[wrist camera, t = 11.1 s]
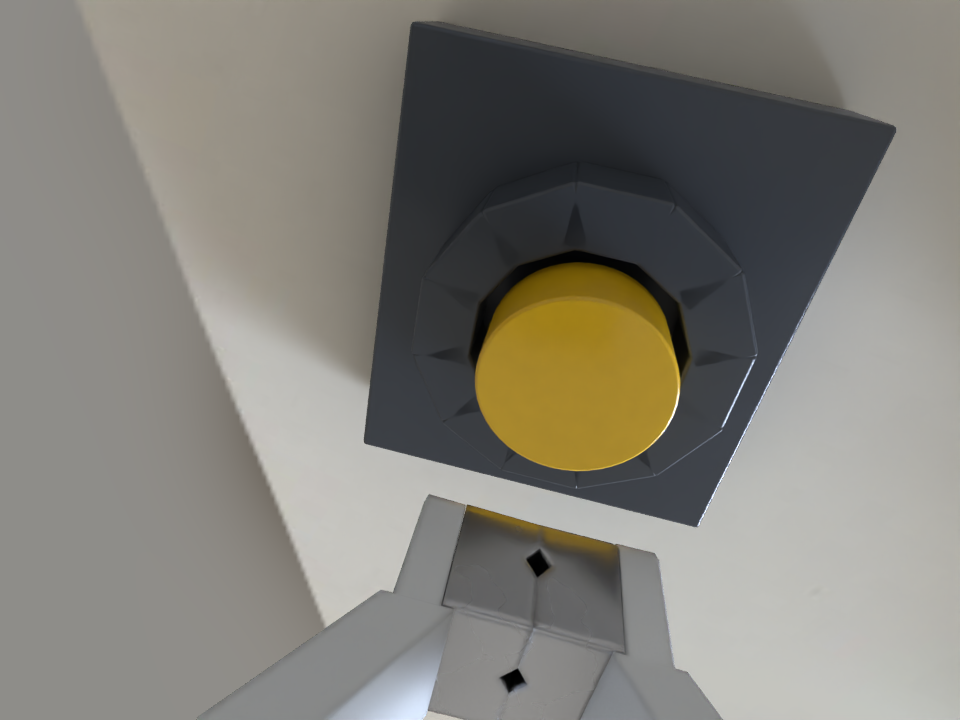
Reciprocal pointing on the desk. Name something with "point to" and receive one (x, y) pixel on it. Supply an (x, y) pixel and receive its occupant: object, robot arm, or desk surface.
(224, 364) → the desk surface
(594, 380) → the trigger button
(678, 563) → the desk surface
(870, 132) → the button block
